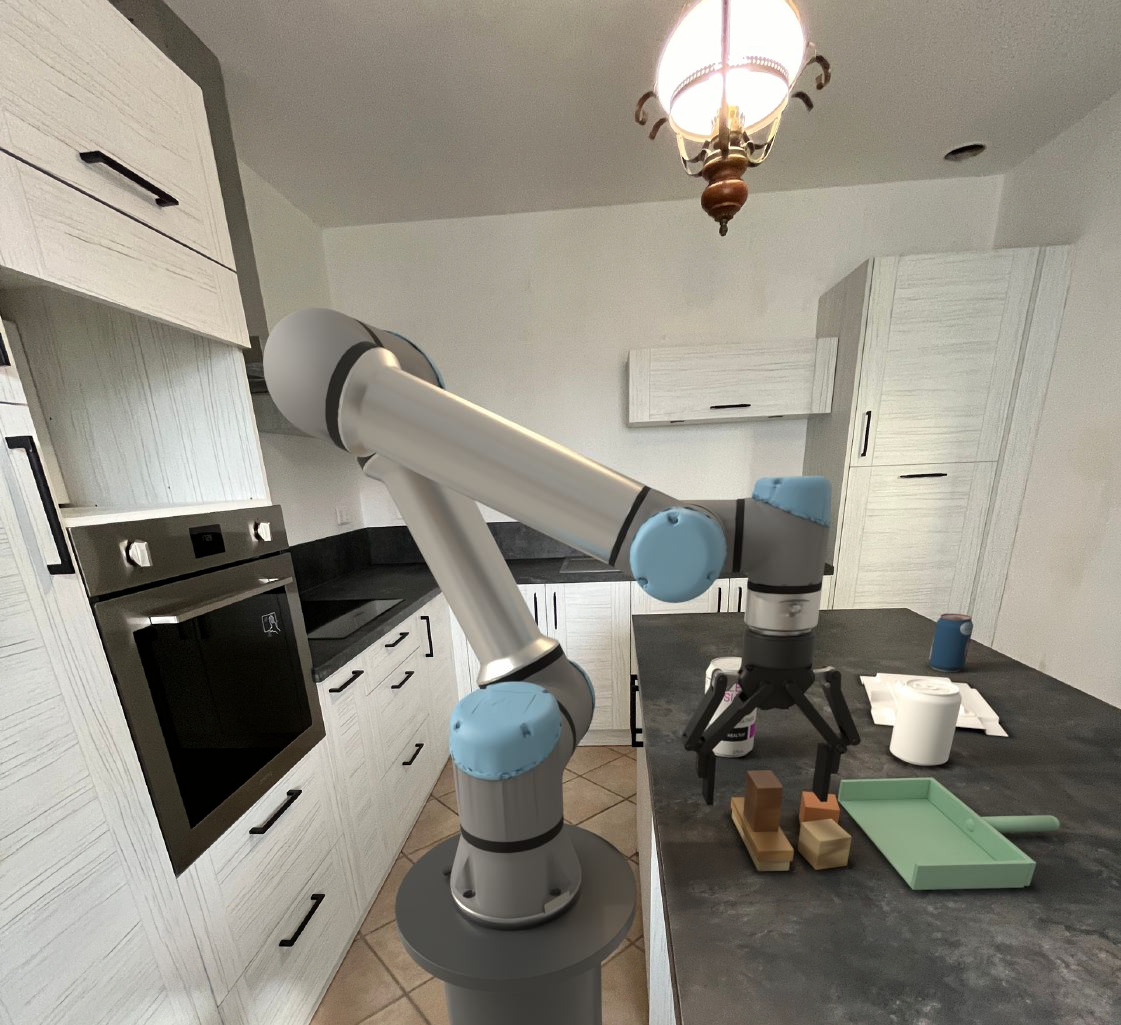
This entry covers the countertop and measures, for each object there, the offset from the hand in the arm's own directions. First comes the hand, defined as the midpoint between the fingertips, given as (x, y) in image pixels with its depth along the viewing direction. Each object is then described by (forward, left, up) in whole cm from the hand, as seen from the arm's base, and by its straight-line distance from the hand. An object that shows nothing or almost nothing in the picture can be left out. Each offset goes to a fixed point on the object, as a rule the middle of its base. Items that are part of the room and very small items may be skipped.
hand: (763, 798), depth 71 cm
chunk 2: (+6, -3, -6) cm, 10 cm away
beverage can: (+32, +22, -6) cm, 39 cm away
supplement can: (+3, +27, -7) cm, 28 cm away
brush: (0, 0, -6) cm, 6 cm away
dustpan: (+25, 0, -6) cm, 26 cm away
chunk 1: (+8, +3, -6) cm, 11 cm away
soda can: (+62, +65, -7) cm, 90 cm away
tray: (+46, +45, -6) cm, 65 cm away
